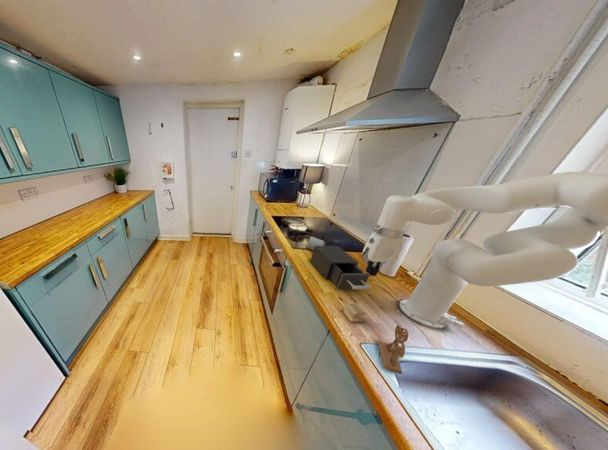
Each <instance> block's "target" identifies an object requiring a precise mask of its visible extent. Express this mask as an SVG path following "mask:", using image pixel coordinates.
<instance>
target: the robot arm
mask: <svg viewBox="0 0 608 450" xmlns="http://www.w3.org/2000/svg"><path fill="white" fill-rule="evenodd" d="M553 207H565V208H567V209H566V210H565V211H564V212H563V213H562V214H561V215H560V216H559V217H557V218H555V220H552V221H548V222H546V223H542V224H538V225H533V226H528V227H523V228H517V229H513V230H509V231H503V232H498V233H495V234H492V235H490V236H487V237H486V238H485V239H484V240H483V241H482V247H481V246H479V245H477V244H476V243H473V242H471V241H469V240H466V239H462V238H447V239H445V240H442V241H440V242H439V243H437V244H436V246H434V248H433V250H432V254H431V257H430V261H429V263H428V265H427V268H426V269H425V272H424V273H423V274H422V276H421V278H420V279H419V281H418V282H417V284H416V286H415V288H414V290H413V291H412V293H411V294H410V296H409V298H408V299H403V300H400V302H399V304H398V306H399V309H400V310H401V311H402V312H403V314H405V315H406V316H407V317H408V318H410V319H411V320H413V321H415V322H416V323H419V324H421V325H423V326H425V327H429V328H433V329H443V328H445V327H446V326H447V325H448V324H450V325H453V326H454V327H457V328H458V329H463V328H464V326H465V323H464V322H462V321H459V320H457V319H458V318H457V317H456V316H454V315H450V314H448V313H447V312H448V311H449V310H450V308H451V307H452V306H453V305H454V303H455V301H456V300H457V299H458V298H459V296H460V295H461V293H462V292H463V291H464V289H465V288H466V287H467V285H468V284H470V285H473V286H478V287H500V286H501V287H502V286H509V285H510V286H511V285H519V284H526V283H527V284H528V283H534V282H535V283H536V282H542V281H543V282H544V281H551V280H555V279H558V278H562V277H564V276H566V275H568V274H571V273H572V272H573V271H574V270H575V269H577V267H578V265H579V258H578V257H577V255H576V254H575V253H574V252H577V251H580V250H581V251H582V250H584V249H586V248H589V247H591V246H592V245H593V244H594V243H596V241H597V240H598V238H599V237H600V236H601V234H602V233H603V232H604V230H605V229H607V227H608V174H604V173H595V172H586V171H564V172H563V171H562V172H557V173H552V174H546V175H541V176H535V177H529V178H524V179H519V180H518V179H517V180H513V181H507V182H502V183H495V184H487V185H485V184H484V185H472V186H458V187H447V188H438V189H434V190H428V191H423V192H419V193H416V194H413V195H411V196H407V195H398V194H395V195H390V196H388V197H387V198H386V201H385V203H384V206H383V208H382V211H381V214H380V216H379V218H378V221H377V223H376V225H375V227H374V228H373V232H372V233H371V234H370V236H369V237H368V239H367V241H366V243H365V244H364V246H363V250H362V253H361V255H362V257H361V261H362V262H364V263H367V264H368V265H367V266H366V268H365V273H368V274H369V276H371V277H373V276H374V277H376V276H377V275H378V272H379V270H380V268H381V267H382V266H383V264H384V263H386V262H393V261H396V260H397V258H398V256H399V254H400V251H401V248H402V245H403V240H404V237H403V234H404V233H405V232H406V230H407V228H408V226H409V224H410V222H414V223H415V222H416V223H420V224H423V225H428V226H441V225H444V224H447V223H449V222H451V221H452V220H453V219H454V218H455V215H456V211H455V210H463V211H471V212H478V213H486V214H497V215H498V214H510V213H517V212H522V211H523V212H524V211H531V210H537V209H547V208H553Z"/></svg>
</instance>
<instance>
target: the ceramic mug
mask: <svg viewBox="0 0 608 450" xmlns="http://www.w3.org/2000/svg"><path fill="white" fill-rule="evenodd" d="M314 246H326V241H324V239H323V240H322V239H319V238H317V237H314V236H310V238H309V239H308V241H307V244H306V249H308V250H310V251H313V250H314Z"/></svg>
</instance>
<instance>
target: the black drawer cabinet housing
mask: <svg viewBox="0 0 608 450" xmlns="http://www.w3.org/2000/svg"><path fill="white" fill-rule="evenodd" d="M309 262H310V263H311V264H312V265H313V266H314V267H315V269H316V270H317V271H318V272H319V273H320V274H321V276H322V277H323V278H324V279H325V280H331V279H330V277H329V273H330V270H331V267H332V265H333V264H355V265H356V266H357V267H358V264H359V261H357V260H356V259H355V258H354V257H353V256H351V255H350V254H348V253H347V252H346V251H345V250H344V249H343V248H341V247H340V246H339V245H325V246H314V250H312V254H311V257H310V261H309Z"/></svg>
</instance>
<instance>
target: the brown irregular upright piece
mask: <svg viewBox="0 0 608 450" xmlns="http://www.w3.org/2000/svg"><path fill="white" fill-rule="evenodd" d="M408 339H409V330H408V329H407V328H405V327H402V326H401V325H400V324H397V325H396V326H395V328H394V340H393V341H392V342H390V343H387V342H384V341H381V340H378V342H377V344H378V348H379V352H380V356H381V360H382V363H383V367H384V368H385V369H387V370H389V371H392V372H394V373H396V374H398V375H402V374H403V370H402V367H401V364H400V360H399V358H404V356H405V353H406V345H405V343H406V342H407V341H408ZM398 357H399V358H398Z"/></svg>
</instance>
